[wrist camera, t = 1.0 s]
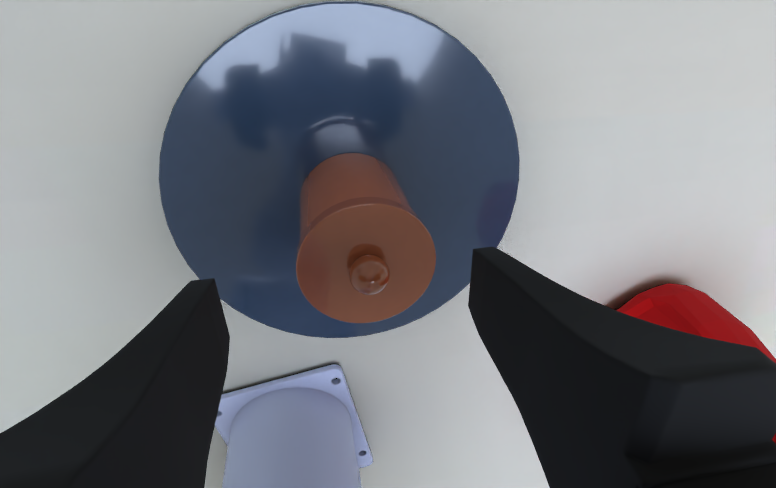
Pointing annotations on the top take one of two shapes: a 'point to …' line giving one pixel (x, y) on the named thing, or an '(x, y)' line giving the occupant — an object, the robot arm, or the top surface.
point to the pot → (360, 241)
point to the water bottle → (691, 315)
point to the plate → (333, 151)
